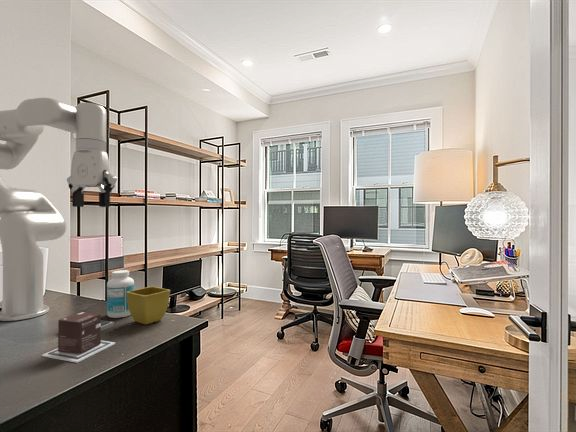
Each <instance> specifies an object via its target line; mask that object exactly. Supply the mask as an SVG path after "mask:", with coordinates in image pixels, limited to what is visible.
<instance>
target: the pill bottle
mask: <svg viewBox="0 0 576 432" xmlns="http://www.w3.org/2000/svg"><path fill="white" fill-rule="evenodd" d="M129 275H130V270H128V269H127V270H126V269H124V270H123V269H121V270H114V271H112V272H111V276H112V278H111V279H109V280H108V281H107V282H106V310H107V311H106V313H107V317H108V318H113V319H120V318H121V317H122V318H125V317H129V316H131V314H130V311H129V308H128V301H127V293H126V292H128V291H132V290H135V281H134V278H132V277H129Z"/></svg>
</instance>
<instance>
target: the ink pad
mask: <svg viewBox="0 0 576 432" xmlns="http://www.w3.org/2000/svg"><path fill="white" fill-rule="evenodd" d="M114 326H115V322H114V321H108V320H101V332H102V331H105V330H107V329H109V328H111V327H114Z"/></svg>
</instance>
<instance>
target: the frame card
mask: <svg viewBox="0 0 576 432" xmlns="http://www.w3.org/2000/svg"><path fill="white" fill-rule="evenodd" d="M113 345H116V342H115V341H114V342H113V341H108V340H102V339H101V344H100V345H97V346H96V347H94V348H92V349H90V350H88V351H86V352H84V353H82V354H73V353H64V352H58V347H57V348H55V349H53V350H51V351H48V352H46V353H43V354H42V355H41V357H44V358H49V359H54V360H61V361H66V362H71V363H79V362H82V361H83V360H86V359H87V358H90V357H92V356H94V355H96V354H97V353H99V352H102V351H104V350H106V349H108V348H110V347H112V346H113Z"/></svg>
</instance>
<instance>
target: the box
mask: <svg viewBox="0 0 576 432" xmlns="http://www.w3.org/2000/svg"><path fill="white" fill-rule="evenodd" d="M101 314H102V313H96V312H95V313H92V312H83V311H82V312H78V313H75V314H72V315H69V316H66V317H63V318H60V319H58V323H57V324H58V325H57V326H58V327H57V328H58V329H57V330H58V332H57V334H58V337H57V338H58V339H57V340H58V341H57V348H58V352H64V353H73V354H82V353H84V352H86V351H88V350H90V349H92V348H94V347H96V346H97V345H100V344H101V340H102V337H101V336H102V335H101V334H102V333H101V332H102V331H101Z"/></svg>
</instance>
